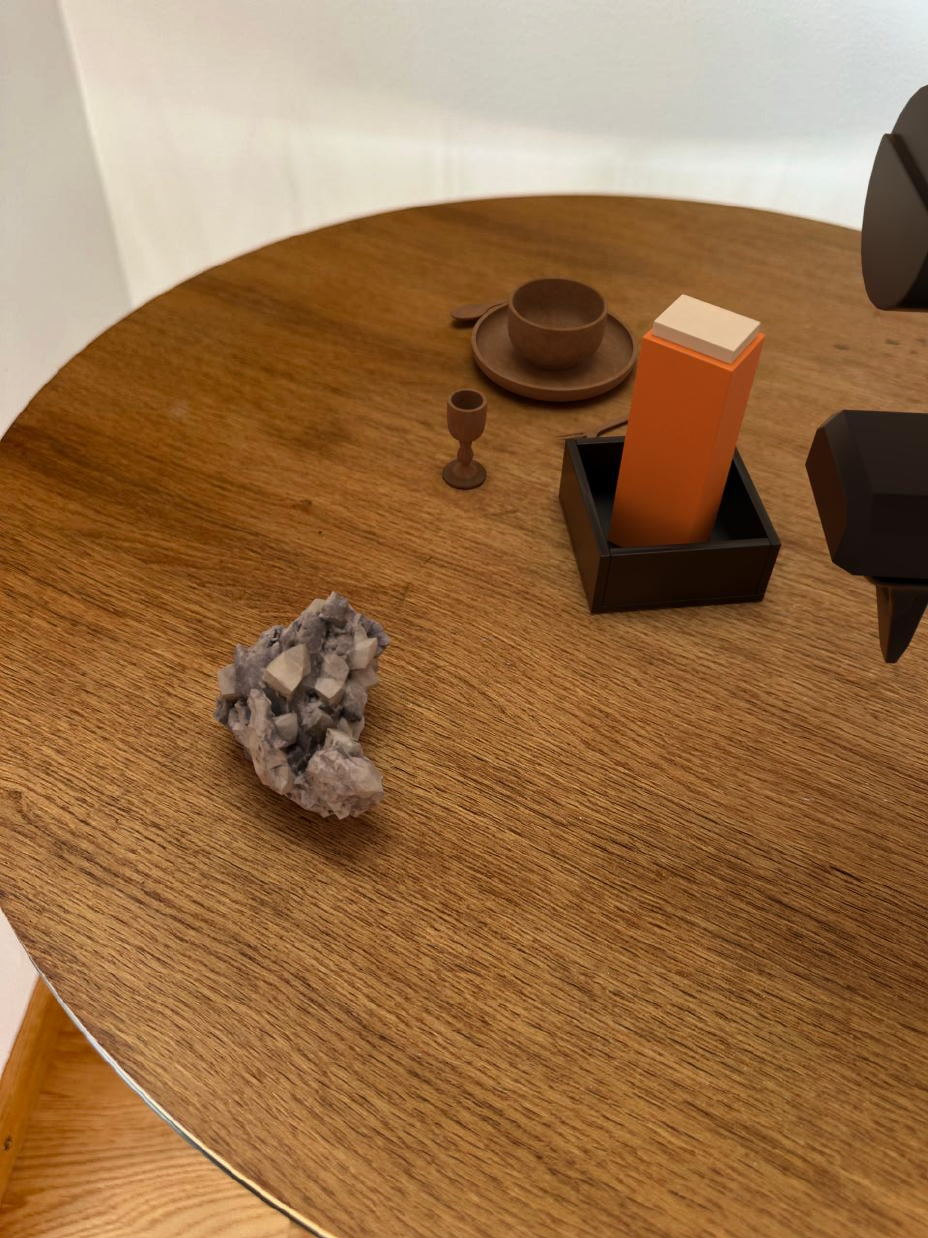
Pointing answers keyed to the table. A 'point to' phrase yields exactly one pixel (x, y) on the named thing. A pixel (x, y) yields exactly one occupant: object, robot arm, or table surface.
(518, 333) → the place setting
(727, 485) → the open black square box
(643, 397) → the block
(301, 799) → the mineral specimen
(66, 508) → the table surface
